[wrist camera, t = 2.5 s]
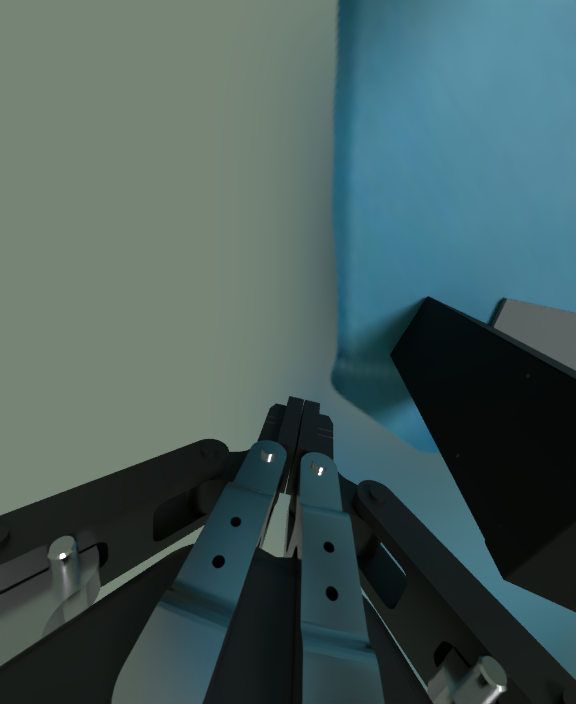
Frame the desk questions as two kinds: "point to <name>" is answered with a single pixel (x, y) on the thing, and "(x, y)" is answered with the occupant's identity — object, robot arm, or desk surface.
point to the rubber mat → (540, 328)
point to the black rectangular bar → (501, 440)
